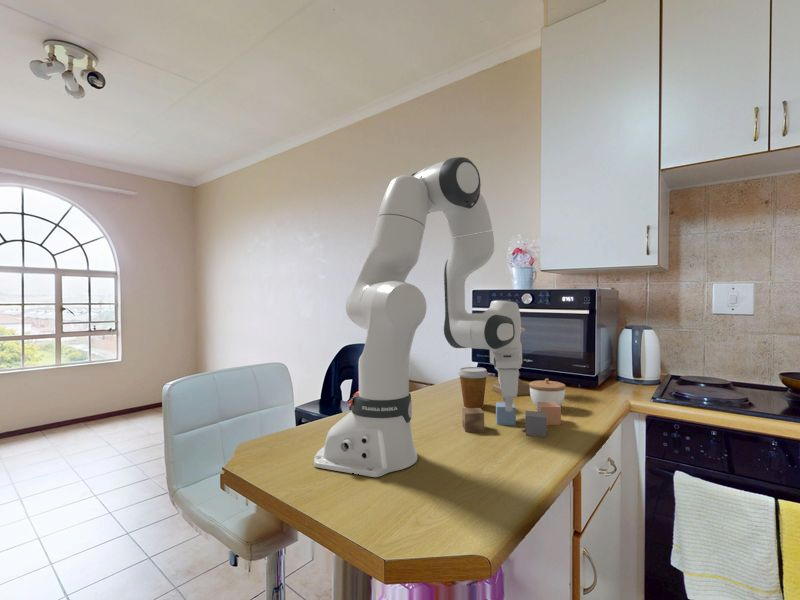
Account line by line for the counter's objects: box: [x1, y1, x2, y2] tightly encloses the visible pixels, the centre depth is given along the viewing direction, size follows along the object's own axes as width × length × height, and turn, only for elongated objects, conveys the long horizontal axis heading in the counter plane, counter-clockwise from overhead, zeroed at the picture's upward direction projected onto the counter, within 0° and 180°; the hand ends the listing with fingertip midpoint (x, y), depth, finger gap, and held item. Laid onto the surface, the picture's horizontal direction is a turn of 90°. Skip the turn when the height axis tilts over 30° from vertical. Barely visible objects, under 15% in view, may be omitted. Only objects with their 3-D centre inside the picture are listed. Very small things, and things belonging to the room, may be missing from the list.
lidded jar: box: [528, 378, 566, 409], centre depth 123 cm, size 11×11×9 cm
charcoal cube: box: [524, 410, 548, 438], centre depth 101 cm, size 5×5×5 cm
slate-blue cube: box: [495, 401, 517, 426], centre depth 110 cm, size 5×5×5 cm
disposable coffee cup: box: [458, 366, 489, 409], centre depth 127 cm, size 10×10×12 cm
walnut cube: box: [461, 407, 485, 433], centre depth 105 cm, size 5×5×5 cm
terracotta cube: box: [537, 402, 562, 426], centre depth 109 cm, size 5×5×5 cm
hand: (507, 405), depth 110 cm, fingers open, 8 cm apart
